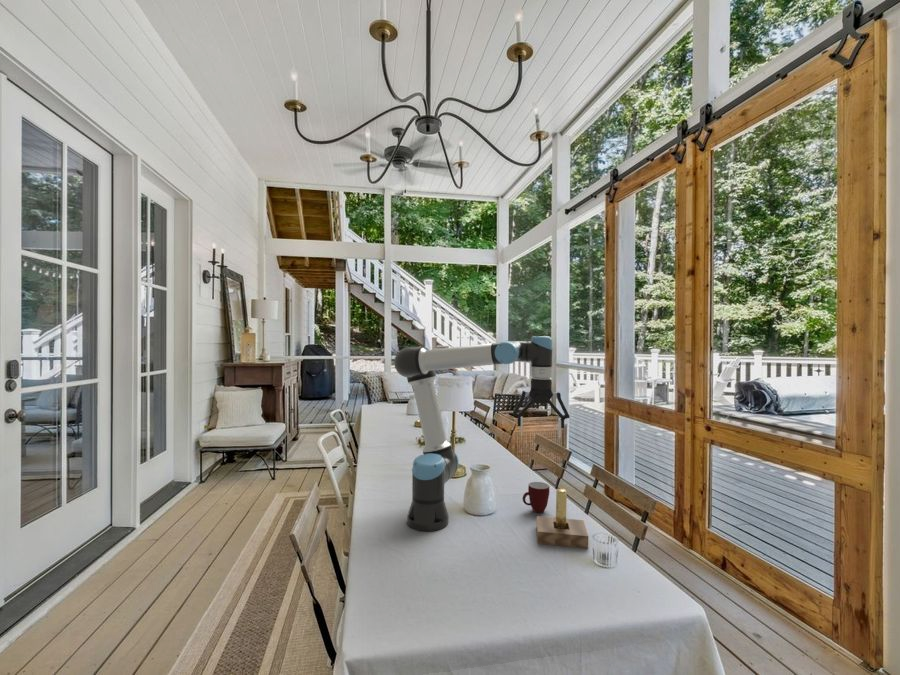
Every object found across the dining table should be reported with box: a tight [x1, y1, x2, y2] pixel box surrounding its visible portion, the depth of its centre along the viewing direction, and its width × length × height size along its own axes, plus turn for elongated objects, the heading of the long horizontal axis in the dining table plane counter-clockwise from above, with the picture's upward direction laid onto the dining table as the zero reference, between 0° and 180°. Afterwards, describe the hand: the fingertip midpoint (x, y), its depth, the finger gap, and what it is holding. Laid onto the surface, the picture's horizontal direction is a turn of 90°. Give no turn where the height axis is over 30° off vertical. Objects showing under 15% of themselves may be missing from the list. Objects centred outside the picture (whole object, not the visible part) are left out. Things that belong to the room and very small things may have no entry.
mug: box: [522, 481, 550, 514], centre depth 164 cm, size 11×8×10 cm
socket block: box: [536, 515, 589, 549], centre depth 143 cm, size 16×12×4 cm
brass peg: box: [555, 488, 568, 529], centre depth 143 cm, size 3×3×16 cm
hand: (540, 436), depth 154 cm, fingers open, 13 cm apart
